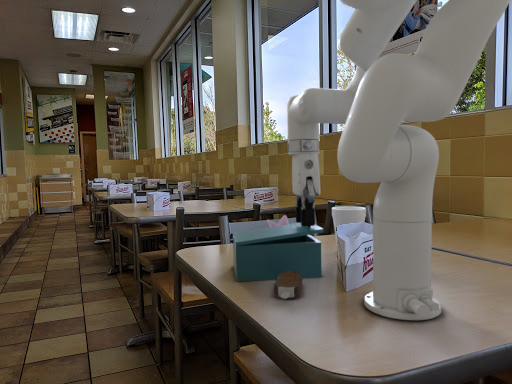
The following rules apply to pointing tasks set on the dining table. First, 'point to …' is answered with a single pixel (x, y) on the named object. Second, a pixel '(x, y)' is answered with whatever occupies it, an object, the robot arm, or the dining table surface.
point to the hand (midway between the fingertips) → (305, 223)
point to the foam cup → (347, 215)
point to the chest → (277, 258)
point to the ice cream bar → (288, 285)
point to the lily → (282, 221)
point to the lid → (275, 233)
